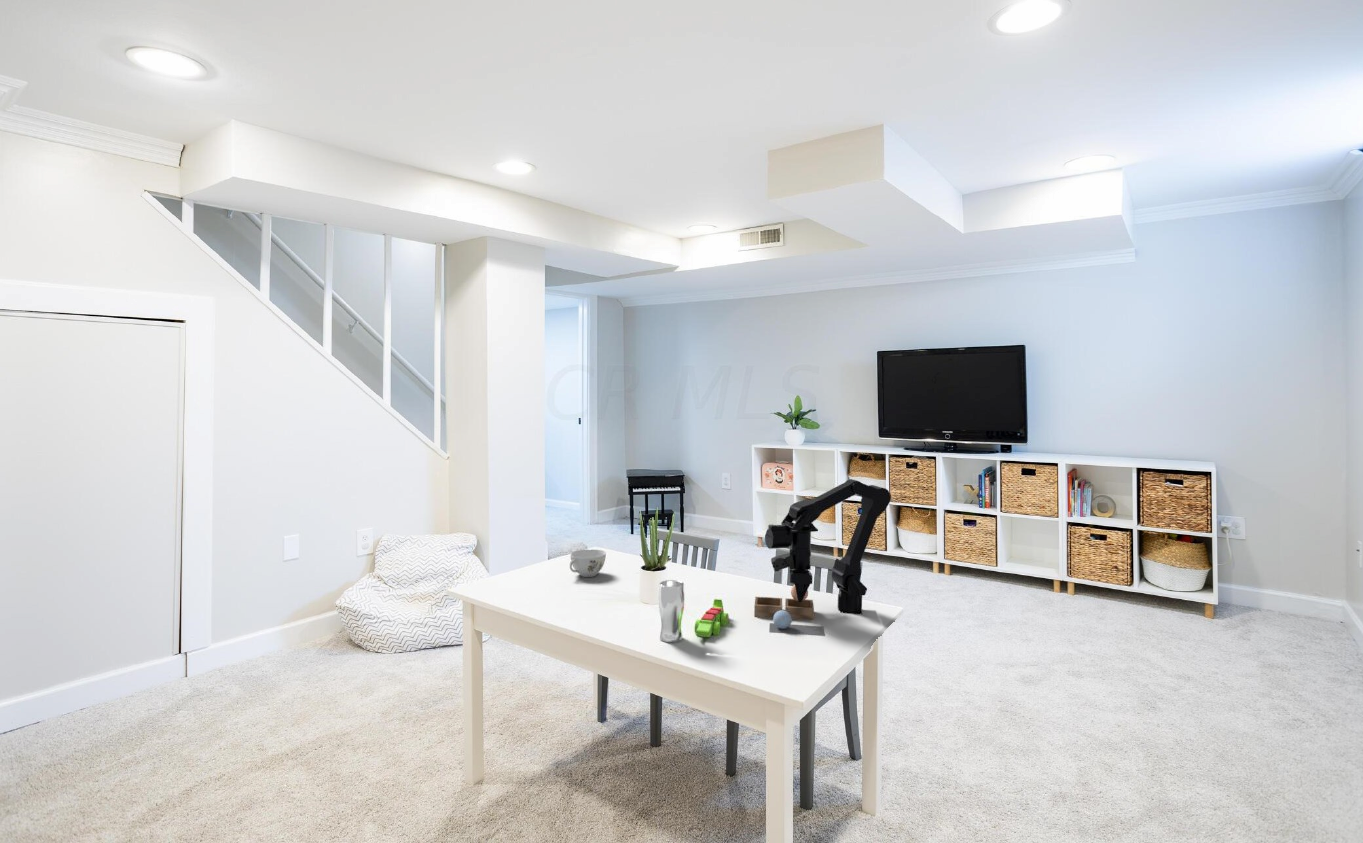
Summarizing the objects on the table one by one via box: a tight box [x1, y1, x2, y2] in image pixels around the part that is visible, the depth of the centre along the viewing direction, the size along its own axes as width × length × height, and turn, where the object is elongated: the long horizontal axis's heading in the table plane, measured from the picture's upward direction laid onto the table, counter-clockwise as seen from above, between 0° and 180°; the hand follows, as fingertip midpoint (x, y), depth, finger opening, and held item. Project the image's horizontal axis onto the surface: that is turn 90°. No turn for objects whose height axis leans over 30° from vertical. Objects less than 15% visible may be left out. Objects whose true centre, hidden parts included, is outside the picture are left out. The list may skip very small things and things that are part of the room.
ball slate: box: [772, 609, 792, 629], centre depth 186 cm, size 5×5×5 cm
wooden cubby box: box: [784, 597, 815, 621], centre depth 197 cm, size 8×8×4 cm
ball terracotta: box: [790, 584, 809, 601], centre depth 197 cm, size 5×5×5 cm
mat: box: [768, 622, 826, 637], centre depth 186 cm, size 15×7×1 cm, turn 82°
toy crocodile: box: [694, 598, 730, 638], centre depth 186 cm, size 20×7×6 cm, turn 160°
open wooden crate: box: [753, 596, 783, 619], centre depth 198 cm, size 8×8×4 cm
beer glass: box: [658, 579, 686, 644], centre depth 179 cm, size 7×7×15 cm
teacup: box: [569, 549, 607, 578], centre depth 236 cm, size 15×12×8 cm
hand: (799, 598), depth 197 cm, fingers closed on ball terracotta, 5 cm apart
